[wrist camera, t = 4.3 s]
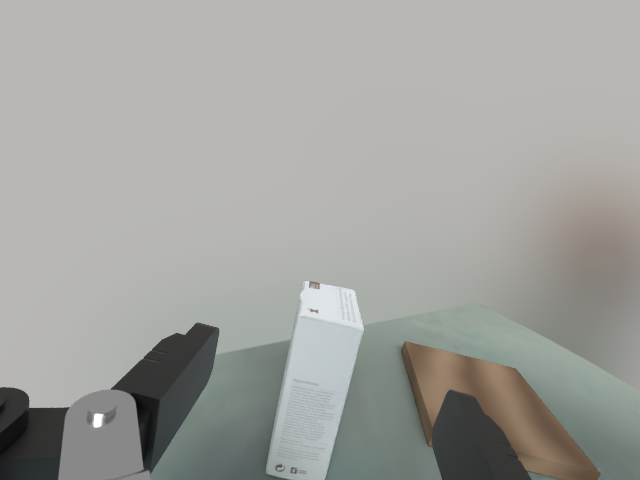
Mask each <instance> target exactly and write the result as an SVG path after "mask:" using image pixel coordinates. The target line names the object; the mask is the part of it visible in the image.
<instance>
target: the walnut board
mask: <svg viewBox="0 0 640 480" xmlns="http://www.w3.org/2000/svg"><path fill="white" fill-rule="evenodd" d="M402 355H403V359H404V362H405V366H406V369H407V373H408V376H409V380H410V383H411V387H412V390H413V394H414V397H415V401H416V404H417V408H418V412H419V415H420V419H421V422H422V426H423V429H424V433H425V436H426V440H427V443H428V446H432V430H433V426H434V423H435V421H436V418H437V416H438V413H439V411H440V408H441V406H442V403H443V401H444V398H445V396H446V393H447V392H448V391H449V390H455V391H458V392H462V393H466V394H470V395H473V396H475V397H476V399H477V401H478V403H479V404H480V406H481V408H482V410H483V412H484V413H485V415H488V416H490V418H491V419H492V420H493V421H494V422H495V423H496V424H497V425H498V426H499V427H500V428H501V429H502V430H503V432H504V434H505V435H506V437H507V439H508V440H509V442H510V444H511V448H513V449H514V451H515V452H516V454H517V456H518V460H520V461H521V463H522V464H523V466H524V468H525V469H526V470H527V471H531V472H535V473H539V474H543V475H547V476H551V477H555V478H558V479H562V480H597V479H598V477H599V475H600V472H599V471H598V470H597V468H596V467H595V466H594V465H593V463H592V462H591V461H590V460H589V458H588V457H587V456H586V455H585V454H584V452H583V451H582V450H581V449H580V447H579V446H578V445H577V444H576V442H575V441H574V440H573V439H572V437H571V436H570V435H569V434H568V433H567V431H566V430H565V429H564V428H563V426H562V425H561V424H560V423H559V421H558V420H557V419H556V418H555V416H554V415H553V414H552V413H551V412H550V410H549V409H548V408H547V407H546V405H545V404H544V403H543V402H542V400H541V399H540V398H539V397H538V395H537V394H536V393H535V392H534V390H533V389H532V388H531V387H530V386H529V384H528V383H527V382H526V381H525V379H524V378H523V377H522V376H521V374H520V373H519V372H518V371H517V369H515V368H511V367H507V366H503V365H499V364H495V363H491V362H487V361H483V360H479V359H475V358H471V357H467V356H463V355H459V354H455V353H450V352H446V351H442V350H438V349H434V348H430V347H426V346H422V345H418V344H414V343H410V342H406V341H405V342H404V345H403V349H402ZM432 447H433V446H432Z"/></svg>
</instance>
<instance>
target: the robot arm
mask: <svg viewBox="0 0 640 480" xmlns="http://www.w3.org/2000/svg"><path fill="white" fill-rule="evenodd" d="M218 336H219V328H217V327H213V326H209V325H205V324H201V323H196V324H195V325H194V326H193V327H192V328H191V329H190V330H189V331H188V333H186V335H182V334H179V333H176V334H174V335H171V336H169V337H167V338H165V339H162V340H161V341H160V342H159V343H158V344H157V345H156V346H155V347H154V348H153V349H152V351H150V352H149V353H148V354H147V355H146V356H145V357H144V359H142V360H141V361H139V362H138V364H136V365H135V366H134V367H133V368H132V369H131V370H130V371H129V372H128V373H127V374H126V375H125V376H124V377H123V378H122V379H121V380H120V381H119V382H118V383H117V384H116V385H115V386H114V387H112V388H111V390H102V391H97V392H94V393H91V394H88V395H86V396H84V397H82V398H80V399H79V400H78V401H76V402H75V403H74V404H73V405H72V406H71V407H68V408H29V397H28V395H27V394H26V393H25V392H24V391H22V390H19V389H15V388H5V387H3V388H0V480H151V476H150V474H151V472H152V471H153V469H154V467H155V466H156V464H157V463H158V461H159V459H160V458H161V456H162V455H163V453H164V452H165V450H166V448H167V447H168V445H169V444H170V442H171V440H172V439H173V437H174V436H175V434H176V432H177V431H178V429H179V428H180V426H181V424H182V423H183V421H184V420H185V418H186V417H187V415H188V413H189V412H190V410H191V409H192V407H193V405H194V404H195V402H196V401H197V399H198V397H199V396H200V394H201V393H202V391H203V390H204V388H205V386H206V384H207V382H208V380H209V378H210V375H211V372H212V369H213V364H214V358H215V353H216V348H217V342H218ZM432 446H433V450H434V453H435V457H436V460H437V463H438V467H439V470H440V473H441V476H442V480H531V478H530V476H529V475H528V473H527V471H526V469H525V468H524V466H523V464H522V463H521V461H520V460H518V456H517V454H516V452H515V451H514V449H513V448H511V444H510V442H509V440H508V439H507V437H506V435H505V434H504V432H503V430H502V429H501V428H500V427H499V426H498V425H497V424H496V423H495V422H494V421H493V420H492V419H491V418H490V416H488V415H485V413H484V412H483V410H482V408H481V406H480V404H479V403H478V401H477V399H476V397H475V396H473V395H470V394H466V393H462V392H458V391H455V390H449V391H448V392H447V393H446V396H445V398H444V401H443V403H442V406H441V408H440V411H439V413H438V416H437V418H436V421H435V423H434V426H433V430H432Z"/></svg>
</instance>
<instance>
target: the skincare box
mask: <svg viewBox="0 0 640 480" xmlns="http://www.w3.org/2000/svg"><path fill="white" fill-rule="evenodd" d="M363 332H364V327H363V323H362V319H361V315H360V311H359V308H358V304H357V300H356V295H355V291H353V290H350V289H346V288H341V287H336V286H330V285H326V284H320V283H315V282H310V281H304V282H303V285H302V289H301V293H300V298H299V304H298V308H297V313H296V317H295V322H294V327H293V332H292V336H291V341H290V346H289V351H288V356H287V361H286V366H285V371H284V376H283V381H282V386H281V391H280V396H279V401H278V406H277V411H276V416H275V421H274V426H273V431H272V437H271V442H270V448H269V453H268V459H267V465H266V473H267V474H269V475H272V476H276V477H280V478H284V479H289V480H325V478H326V475H327V471H328V467H329V463H330V459H331V455H332V451H333V447H334V443H335V439H336V435H337V431H338V428H339V424H340V420H341V417H342V413H343V409H344V405H345V401H346V397H347V393H348V389H349V385H350V382H351V378H352V374H353V370H354V366H355V361H356V358H357V353H358V349H359V345H360V342H361V338H362V335H363Z"/></svg>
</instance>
